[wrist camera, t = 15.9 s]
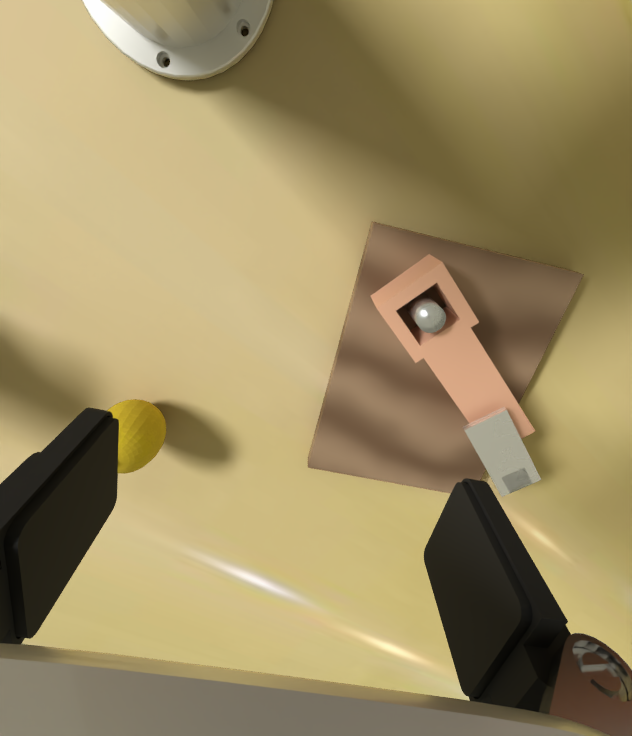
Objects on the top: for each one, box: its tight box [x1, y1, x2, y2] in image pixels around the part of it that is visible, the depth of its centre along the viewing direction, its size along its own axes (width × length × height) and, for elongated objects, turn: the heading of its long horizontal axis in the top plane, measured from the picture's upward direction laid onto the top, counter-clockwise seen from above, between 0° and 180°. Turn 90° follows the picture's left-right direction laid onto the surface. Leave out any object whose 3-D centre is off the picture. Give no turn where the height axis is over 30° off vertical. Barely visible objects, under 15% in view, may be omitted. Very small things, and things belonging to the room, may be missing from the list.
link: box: [371, 254, 535, 439], centre depth 32 cm, size 17×5×4 cm, turn 37°
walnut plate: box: [308, 222, 584, 493], centre depth 36 cm, size 23×17×2 cm
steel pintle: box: [404, 292, 446, 333], centre depth 30 cm, size 2×2×4 cm
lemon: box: [107, 399, 166, 473], centre depth 34 cm, size 6×6×8 cm
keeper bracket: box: [463, 407, 541, 497], centre depth 35 cm, size 8×4×6 cm, turn 32°
